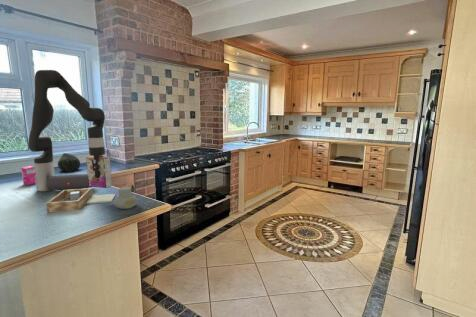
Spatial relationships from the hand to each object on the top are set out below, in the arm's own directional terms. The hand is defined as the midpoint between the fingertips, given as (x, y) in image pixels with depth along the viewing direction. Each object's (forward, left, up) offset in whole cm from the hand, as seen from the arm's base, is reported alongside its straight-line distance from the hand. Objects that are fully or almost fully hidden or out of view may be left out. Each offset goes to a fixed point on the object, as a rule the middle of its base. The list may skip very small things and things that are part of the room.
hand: (99, 176), depth 143 cm
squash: (-42, +82, -13) cm, 93 cm away
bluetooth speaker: (-21, +22, -13) cm, 34 cm away
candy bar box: (0, 0, -6) cm, 6 cm away
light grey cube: (-14, +4, -13) cm, 20 cm away
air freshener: (+15, -15, -13) cm, 25 cm away
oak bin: (-14, -3, -13) cm, 19 cm away
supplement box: (-53, +44, -13) cm, 70 cm away
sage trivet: (0, 0, -13) cm, 13 cm away
